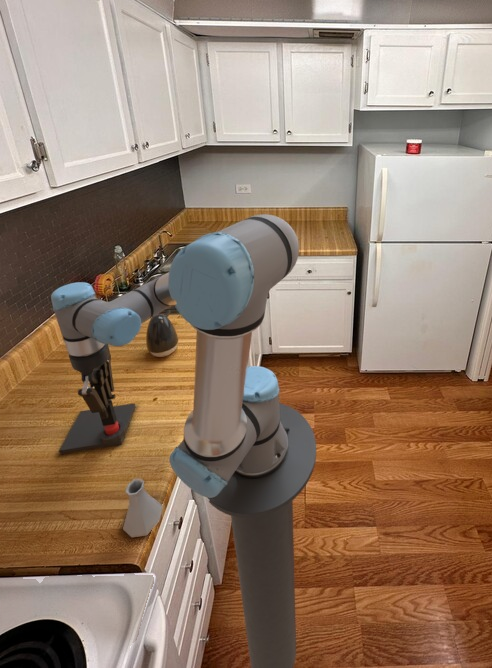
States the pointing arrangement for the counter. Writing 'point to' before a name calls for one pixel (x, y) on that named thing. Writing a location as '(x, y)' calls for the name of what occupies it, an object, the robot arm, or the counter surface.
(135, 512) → the flask
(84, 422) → the scale
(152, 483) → the counter surface
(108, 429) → the button
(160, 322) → the dark grey egg shape
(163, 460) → the counter surface
